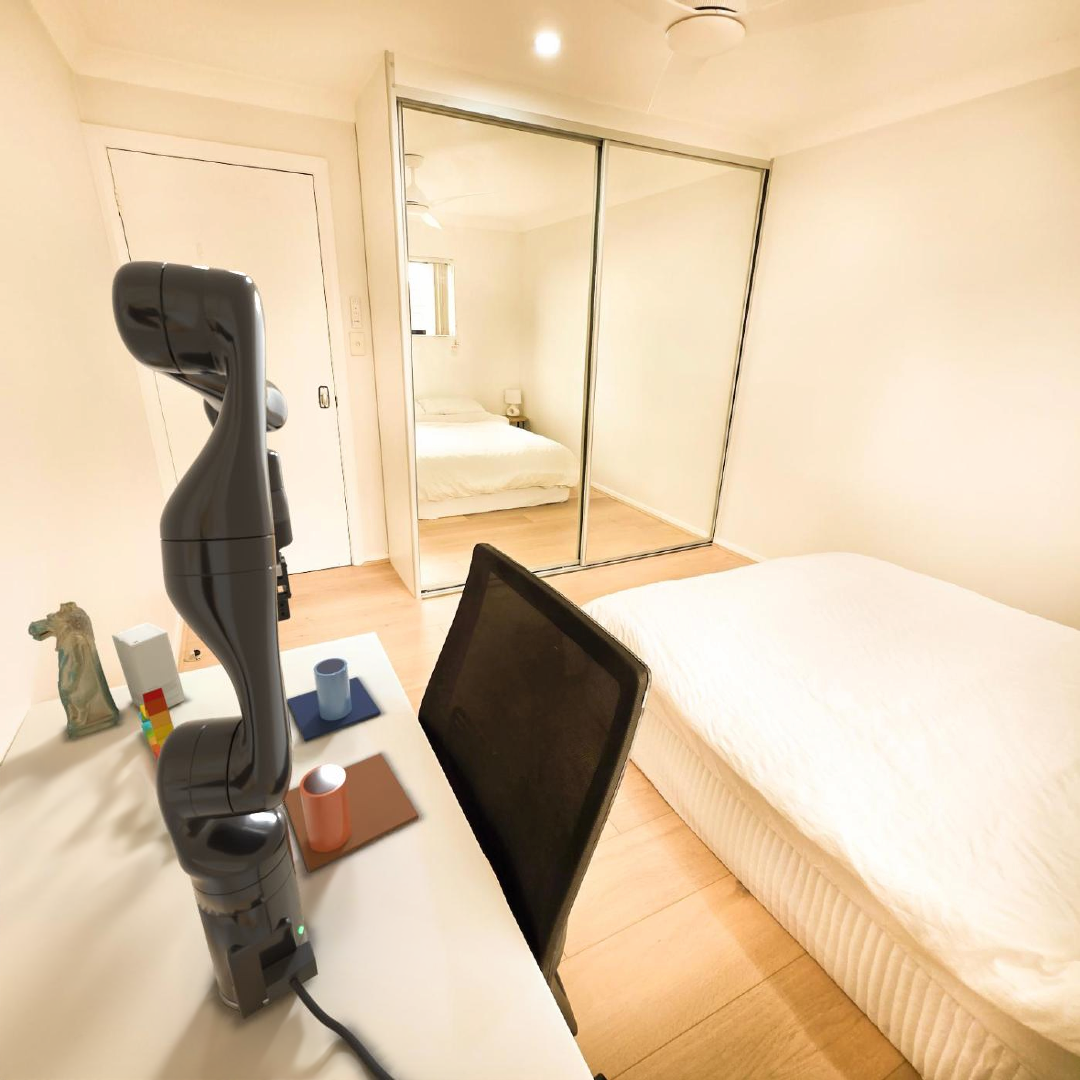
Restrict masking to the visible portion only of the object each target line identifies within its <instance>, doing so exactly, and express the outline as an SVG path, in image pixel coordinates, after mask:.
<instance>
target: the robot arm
mask: <svg viewBox="0 0 1080 1080" xmlns="http://www.w3.org/2000/svg"><path fill="white" fill-rule="evenodd" d="M111 284H112V285H111V307H112V314H113V319H114V322H115V327H116V329H117V332H118V334H119V336H120V339H121V341H122V343H123V344H124V346H125V349H127V351H128V352H129V354H130V355H131V356H132V357H133V358H134V359H135V360H136V361H137V362H138V363H139V364H141V365H142V366H143V367H144V368H147V369H149V370H151V371H153V372H156V373H158V374H160V375H163V376H165V377H167V378H168V379H171V380H173V381H175V382H176V383H179V384H181V385H182V386H184V387H186V388H188V389H190V390H191V391H194V392H195V393H197V394H199V395H200V396H201V397H202V398H203V399H202V404H203V405H202V406H203V410H204V413H205V415H206V418H207V420H208V422H209V424H210V427H211V428H212V430H211V432H210V434H209V436H208V438H207V440H206V442H205V444H204V445H203V447H202V449H201V450H200V452H199V453H198V455H197V456H196V458H195V459H194V460H193V462H192V463H191V464H190V466H189V467H188V468H187V470H186V472H185V473H184V474H183V476H182V477H181V479H180V480H179V481H178V483H177V485H176V486H175V488H174V489H173V491H172V493H171V494H170V496H169V498H168V500H167V501H166V503H165V505H164V507H163V509H162V512H161V515H160V518H159V538H160V541H159V542H160V553H161V554H160V555H161V566H162V567H161V568H162V577H163V584H164V590H165V592H166V595H167V597H168V599H169V601H170V603H171V604H172V606H173V608H174V609H175V610H176V612H177V613H178V615H179V616H180V617H181V619H182V620H183V621H184V622H185V623H186V624H187V626H188V627H189V628H190V630H191V631H192V632H193V633H194V634H195V635H196V637H198V639H199V640H200V641H201V642H202V643H203V644H204V645H205V646H206V647H207V648H208V650H209V651H210V652H211V653H212V654H213V656H214V657H215V658H216V659H217V660H218V662H219V663H220V664H221V666H222V668H223V669H224V671H225V672H226V674H227V676H228V678H229V680H230V682H231V685H232V686H233V690H234V692H235V695H236V698H237V701H238V705H239V709H240V713H241V715H233V716H221V717H212V718H211V717H210V718H200V719H199V718H197V719H192V720H188V721H185V722H182V723H180V724H179V725H177V726H176V727H174V729H173V730H172V731H171V732H170V734H169V735H168V736H167V738H166V739H165V741H164V743H163V745H162V747H161V750H160V753H159V756H158V760H157V759H156V765H155V793H156V799H157V804H158V808H159V812H160V814H161V817H162V821H163V823H164V827H165V829H166V831H167V834H168V836H169V839H170V842H171V844H172V847H173V850H174V853H175V855H176V859H177V861H178V864H179V866H180V868H181V869H182V871H183V872H184V873H185V874H186V875H188V876H189V879H190V882H191V886H192V889H193V893H194V897H195V903H196V907H197V909H198V913H199V917H200V922H201V925H202V929H203V932H204V936H205V940H206V944H207V948H208V951H209V956H210V959H211V963H212V968H213V970H214V974H215V979H216V986H217V990H218V994H219V996H220V997H219V998H221V1000H222V1001H223V1003H224V1004H226V1005H227V1006H228V1007H229V1008H231V1009H234V1010H238V1011H239V1014H240V1018H241V1019H245V1018H247V1017H249V1016H251V1015H252V1014H254V1013H255V1012H257V1011H259V1010H260V1009H262V1008H263V1007H266V1006H267V1005H269V1004H272V1003H274V1002H275V1001H277V1000H278V999H280V998H282V997H283V996H285V995H286V994H289V993H290V992H291V991H294V993H295V994H296V995H297V996H298V998H299V999H300V1001H301V1002H302V1003H303V1004H304V1006H305V1007H306V1009H307V1010H308V1011H309V1012H310V1013H311V1014H312V1015H313V1017H315V1018H316V1019H317V1021H318V1022H319V1023H321V1024H322V1025H323V1026H325V1027H326V1028H328V1029H329V1030H330V1031H333V1032H334V1033H335V1034H337V1035H338V1036H339V1037H340V1038H342V1039H343V1041H345V1042H346V1043H347V1044H348V1045H349V1046H350V1047H351V1049H352V1050H353V1051H354V1052H355V1053H356V1055H357V1056H358V1057H359V1058H360V1059H361V1061H362V1062H363V1063H364V1065H365V1066H366V1067H367V1069H369V1071H370V1072H371V1073H372V1074H373V1076H375V1078H377V1079H378V1080H396V1079H395V1078H394V1077H392V1076H391V1075H390V1074H389V1073H388V1072H387V1071H386V1070H385V1069H384V1068H383V1067H382V1066H381V1065H380V1064H379V1062H377V1060H376V1059H374V1057H373V1056H372V1055H371V1053H370V1052H369V1051H368V1049H367V1048H366V1047H365V1046H364V1045H363V1043H362V1042H361V1041H360V1040H359V1039H358V1038H357V1037H356V1036H355V1035H354V1034H353V1033H352V1032H351V1031H350V1030H349V1029H348V1028H347V1027H346V1026H345V1025H343V1024H342V1023H340V1022H339V1021H337V1020H336V1019H334V1018H333V1017H331V1016H330V1015H329V1014H328V1013H326V1012H325V1011H324V1009H322V1007H321V1006H319V1004H318V1003H317V1002H316V1001H315V1000H314V999H313V997H312V996H311V994H309V992H308V991H307V990H306V988H305V987H304V986H303V984H305V983H306V982H308V981H309V980H311V979H313V978H314V977H316V976H318V975H319V972H318V966H317V959H316V956H315V952H314V949H313V946H312V943H311V940H310V939H309V936H308V933H307V929H306V923H305V918H304V913H303V907H302V901H301V895H300V890H299V884H298V878H297V872H296V871H297V870H296V866H295V860H294V855H293V848H292V847H293V846H292V841H291V836H290V835H291V834H290V829H289V828H290V827H289V823H288V820H287V816H286V814H285V813H284V811H283V810H282V809H281V808H280V806H281V805H282V803H283V802H285V801H284V799H285V798H286V796H287V793H288V791H290V787H291V784H292V777H293V770H294V769H293V767H294V749H293V738H292V737H293V735H292V728H291V720H290V713H289V707H288V706H289V705H288V701H287V699H288V698H287V693H286V687H285V679H284V673H283V664H282V657H281V648H280V647H281V645H280V633H279V632H280V631H279V623H280V622H282V621H288V620H289V619H291V610H290V604H289V600H290V599H292V595H293V594H292V592H291V585H290V580H289V579H290V578H289V573H288V564H287V560H286V557H285V556H284V555H282V551H281V550H282V549H283V548H286V547H288V546H289V545H291V544H292V543H293V540H294V538H293V537H294V536H293V530H292V529H293V528H292V522H291V514H290V508H289V502H288V500H289V499H288V496H287V493H286V490H285V484H284V477H283V469H282V461H281V457H280V454H279V453H278V451H276V450H274V449H272V448H268V445H267V444H268V443H267V434H268V433H275V432H278V431H279V430H281V429H282V428H283V427H284V426H285V425H286V423H287V421H288V417H289V416H288V415H289V414H288V413H289V411H288V409H289V408H288V404H287V401H286V399H285V396H284V395H283V392H282V391H281V389H279V387H278V386H277V385H276V384H275V383H274V382H272V381H271V380H269V379H267V332H266V331H267V329H266V317H265V309H264V304H263V299H262V296H261V292H260V290H259V288H258V285H257V284H256V283H255V281H254V280H253V278H251V276H249V275H248V274H246V273H245V272H242V271H237V270H232V269H231V270H230V269H224V268H217V267H207V266H200V265H199V266H198V265H191V264H190V265H189V264H181V263H174V262H173V263H172V262H166V261H156V260H155V261H154V260H136V261H135V260H134V261H129V262H128V261H127V262H126V263H124V264H122V265H120V267H119V268H118V269H116V271H115V273H114V276H113V279H112V283H111ZM278 587H282V591H279V588H278Z"/></svg>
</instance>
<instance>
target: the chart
mask: <svg viewBox="0 0 1080 1080" xmlns="http://www.w3.org/2000/svg"><path fill="white" fill-rule="evenodd" d="M142 695H143V700H144V705H141V706H140V707H139V713H137V714H138V717H139V719H140V721H141V728H142V732H143V736H144V737H145V739H146V742H147V743H148V744H149V747H150V749H151V751H152V753H153V755H154V757H155V759H156V761H157V760H158V756H159V753H160V750H161V747H162V745H163V743H164V741H165V739H166V738H167V736H168V735H169V734H170V732H171V731H172V730H173V729H175V727H174V724H173V721H172V717H171V714H170V710H169V708H168V707H167V704H166V700H165V697H164V694H163V690H162V687H161V688H158V689H156V690H153V691H150V692H147V693H144V694H142Z"/></svg>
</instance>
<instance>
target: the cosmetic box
mask: <svg viewBox="0 0 1080 1080" xmlns="http://www.w3.org/2000/svg"><path fill="white" fill-rule="evenodd" d="M111 638H112V641H113V643H114V647H115V651H116V654H117V657H118V660H119V663H120V667H121V670H122V673H123V676H124V679H125V682H126V685H127V688H128V691H129V694H130V698H131V702H132V703H133V704H134V705H135V706H136V707H138V708H140V706H141V705H144V700H143V695H142V694H144V693H147V692H150V691H153V690H156V689H158V688H161V687H162V690H163V694H164V697H165V700H166V704H167V707H168V709H170V708H172V707H174V706H176V705H178V704H180V703H183V702H184V701H185V700H186V697H185V693H184V689H183V688H184V687H183V686H182V681H181V678H180V674H179V671H178V667H177V663H176V658H175V655H174V652H173V648H172V645H171V640H170V637H169V633H168V631H166V630H164V629H162V628H160V627H158V626H157V625H154V624H152V623H151V622H149V621H146V622H143V623H140V624H136V625H135V626H131V627H130V628H127V629H124V630H121V631H119V632H116V633H113V634H111Z"/></svg>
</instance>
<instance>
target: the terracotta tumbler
mask: <svg viewBox="0 0 1080 1080" xmlns="http://www.w3.org/2000/svg"><path fill="white" fill-rule="evenodd" d="M299 786H300V794H301V800H302V807H303V813H304V820H305V826H306V833H307V839H308V844H309V846H310V848H311V849H312V850H314V851H316V852H330V851H333V850H336V849H338V848H339V847H341V846H342V845H343V844H345V843H346V841H347V840H348V839H349V837H350V835H351V833H352V824H351V816H350V807H349V799H348V790H347V781H346V773H345V771H344V770H343V767H341V766H340V765H336V764H323V765H320V766H316V767H314V768H313V769H311V770H309V771H308V772H307V773H306V774H305V775H303V777H302V778H301V780H300V782H299Z"/></svg>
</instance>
